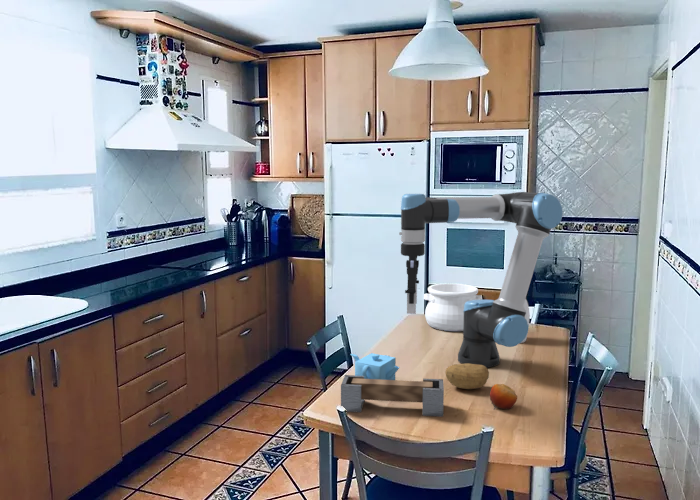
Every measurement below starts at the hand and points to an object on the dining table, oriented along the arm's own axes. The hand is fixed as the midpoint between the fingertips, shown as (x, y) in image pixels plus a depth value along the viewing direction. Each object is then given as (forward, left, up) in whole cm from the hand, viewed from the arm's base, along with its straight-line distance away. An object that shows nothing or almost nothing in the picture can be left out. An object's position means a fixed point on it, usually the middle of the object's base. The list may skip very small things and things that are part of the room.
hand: (412, 308), depth 191 cm
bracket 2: (-7, +17, -27) cm, 32 cm away
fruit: (-28, +12, -27) cm, 41 cm away
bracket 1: (+17, +17, -27) cm, 36 cm away
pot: (-16, -79, -27) cm, 85 cm away
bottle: (-41, -59, -27) cm, 77 cm away
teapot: (+12, +1, -27) cm, 30 cm away
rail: (+5, +17, -24) cm, 30 cm away
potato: (-18, -2, -27) cm, 32 cm away
